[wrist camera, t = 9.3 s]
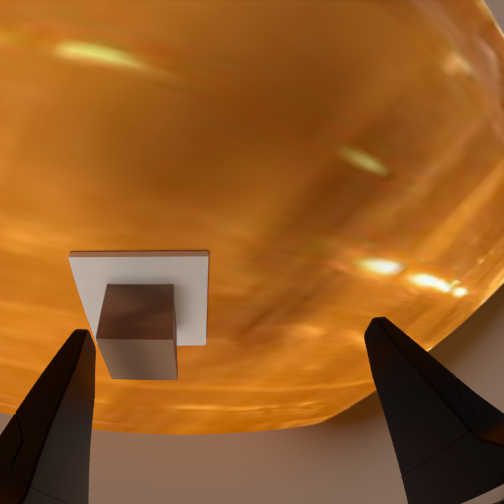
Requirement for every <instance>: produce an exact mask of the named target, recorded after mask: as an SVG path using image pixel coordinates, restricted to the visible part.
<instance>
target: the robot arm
mask: <svg viewBox="0 0 504 504" xmlns="http://www.w3.org/2000/svg"><path fill="white" fill-rule="evenodd" d="M364 340H365V344H366V349H367V353H368V358H369V362H370V367H371V372H372V376H373V379H374V383H375V386H376V389H377V392H378V395H379V399H380V402H381V405H382V408H383V411H384V415H385V418H386V422H387V425H388V428H389V432H390V435H391V439H392V442H393V446H394V449H395V453H396V457H397V461H398V464H399V468H400V471H401V475H402V480H403V484H404V488H405V492H406V496H407V500H408V504H504V413H502V412H501V411H500V410H498V409H497V408H495V407H494V406H493V405H491V404H490V403H488V402H487V401H486V400H484V399H483V398H482V397H480V396H479V395H478V394H476V393H475V392H474V391H473V390H471V389H470V388H469V387H468V386H467V385H465V384H464V383H463V382H462V381H461V380H459V379H458V378H456V376H455V375H454V374H453V373H451V372H450V371H449V370H448V369H447V368H445V367H444V366H443V365H442V364H441V363H440V362H438V361H437V360H436V359H435V358H434V357H432V356H431V355H430V354H429V353H428V352H427V351H425V350H424V349H423V348H422V347H421V346H420V345H418V344H417V343H416V342H415V341H414V340H412V339H411V338H410V337H409V336H408V335H406V334H405V333H404V332H403V331H401V330H400V329H399V328H398V327H397V326H395V325H394V324H393V323H392V322H391V321H389V320H388V319H387V318H385V317H375V318H373V319H372V320H371V322H370V324H369V326H368V328H367V330H366V332H365V335H364ZM95 359H96V349H95V345H94V342H93V340H92V337H91V335H90V332H89V331H88V330H87V329H76V330H74V331H73V333H72V334H71V335H70V337H69V338H68V339H67V340H66V342H65V343H64V344H63V346H62V347H61V348H60V350H59V351H58V352H57V354H56V355H55V356H54V358H53V359H52V361H51V362H50V363H49V365H48V366H47V367H46V369H45V370H44V372H43V373H42V374H41V376H40V377H39V379H38V380H37V381H36V383H35V384H34V386H33V387H32V389H31V390H30V392H29V393H28V394H27V396H26V397H25V399H24V400H23V402H22V403H21V405H20V406H19V408H18V409H17V411H16V414H14V415H13V417H12V419H11V420H10V421H9V423H8V424H7V426H6V427H5V429H4V430H3V432H2V434H1V435H0V504H88V491H89V490H88V489H89V488H88V487H89V460H90V442H91V430H92V419H93V409H94V399H95Z"/></svg>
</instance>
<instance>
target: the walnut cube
mask: <svg viewBox="0 0 504 504" xmlns="http://www.w3.org/2000/svg"><path fill="white" fill-rule="evenodd" d="M96 341H97V344H98V346H99V349H100V351H101V354H102V356H103V359H104V361H105V363H106V366H107V368H108V371H109V373H110V375H111V377H112V379H130V380H178V371H177V326H176V314H175V300H174V285H173V284H107V286H106V290H105V295H104V299H103V304H102V308H101V313H100V318H99V323H98V328H97V333H96Z"/></svg>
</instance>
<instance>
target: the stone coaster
mask: <svg viewBox="0 0 504 504" xmlns="http://www.w3.org/2000/svg"><path fill="white" fill-rule="evenodd" d="M68 258H69V262H70V265H71V269H72V272H73V276H74V279H75V282H76V286H77V289H78V292H79V295H80V298H81V301H82V304H83V307H84V310H85V313H86V316H87V319H88V321H89V324H90V327H91V330H92V332H93V335H94V338H95V340H96V333H97V328H98V323H99V318H100V313H101V308H102V304H103V299H104V295H105V290H106V286H107V284H173V285H174V300H175V314H176V326H177V346H181V345H206V321H207V285H208V258H209V255H208V251H127V252H70V254H69V257H68ZM96 343H97V341H96Z"/></svg>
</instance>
